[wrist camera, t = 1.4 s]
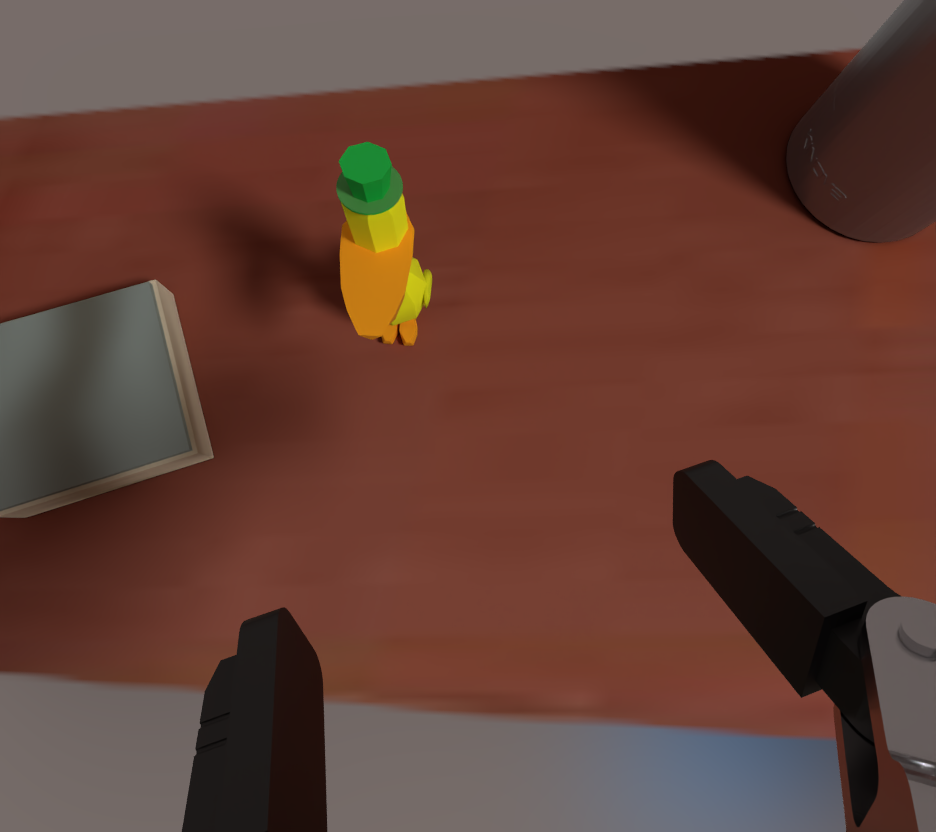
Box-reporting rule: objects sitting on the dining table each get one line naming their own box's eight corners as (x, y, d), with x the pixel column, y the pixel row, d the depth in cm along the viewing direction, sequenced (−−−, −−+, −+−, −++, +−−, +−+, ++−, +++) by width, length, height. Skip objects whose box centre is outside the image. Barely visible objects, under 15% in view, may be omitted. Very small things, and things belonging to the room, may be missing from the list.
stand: (173, 294, 28) (152, 276, 26) (214, 457, 26) (194, 452, 24) (-6, 345, 27) (-41, 331, 25) (25, 517, 25) (-10, 517, 23)
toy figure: (429, 395, 27) (412, 295, 15) (358, 391, 27) (287, 289, 15) (436, 272, 29) (426, 95, 17) (369, 268, 28) (312, 88, 17)
